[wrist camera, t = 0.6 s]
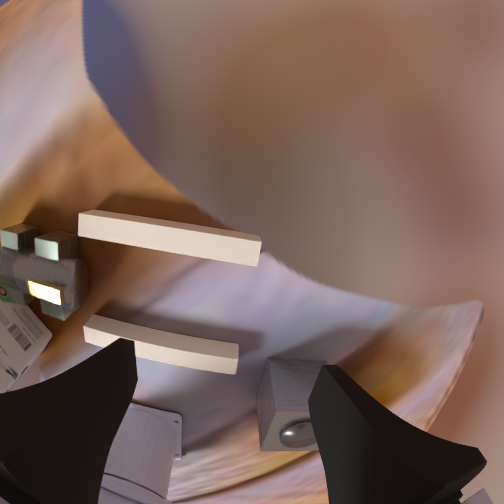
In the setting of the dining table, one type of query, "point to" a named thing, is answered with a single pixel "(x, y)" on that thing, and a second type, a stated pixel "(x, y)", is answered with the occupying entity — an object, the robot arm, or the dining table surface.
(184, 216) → the dining table surface
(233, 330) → the dining table surface
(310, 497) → the dining table surface
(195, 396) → the dining table surface
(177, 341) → the guide rails
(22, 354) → the ink box
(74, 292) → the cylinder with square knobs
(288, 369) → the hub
